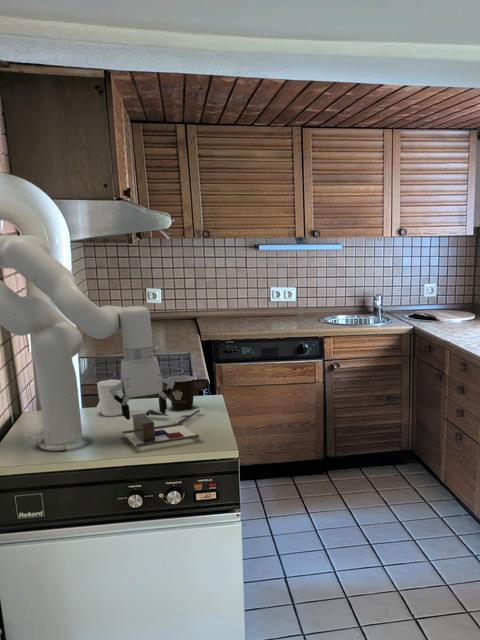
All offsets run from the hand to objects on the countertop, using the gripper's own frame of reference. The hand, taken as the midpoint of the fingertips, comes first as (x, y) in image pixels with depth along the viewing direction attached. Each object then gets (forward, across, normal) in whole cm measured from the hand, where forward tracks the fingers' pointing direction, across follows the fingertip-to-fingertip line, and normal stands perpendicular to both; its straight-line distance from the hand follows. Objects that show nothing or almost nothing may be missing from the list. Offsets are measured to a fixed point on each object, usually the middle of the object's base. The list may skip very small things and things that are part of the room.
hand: (145, 415), depth 190 cm
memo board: (+8, -4, 0) cm, 9 cm away
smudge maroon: (+6, -7, +2) cm, 10 cm away
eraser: (+6, +1, 0) cm, 6 cm away
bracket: (+8, -12, -19) cm, 24 cm away
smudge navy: (+6, -4, -2) cm, 8 cm away
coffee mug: (+8, -19, -31) cm, 38 cm away
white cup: (+7, +1, -35) cm, 36 cm away
